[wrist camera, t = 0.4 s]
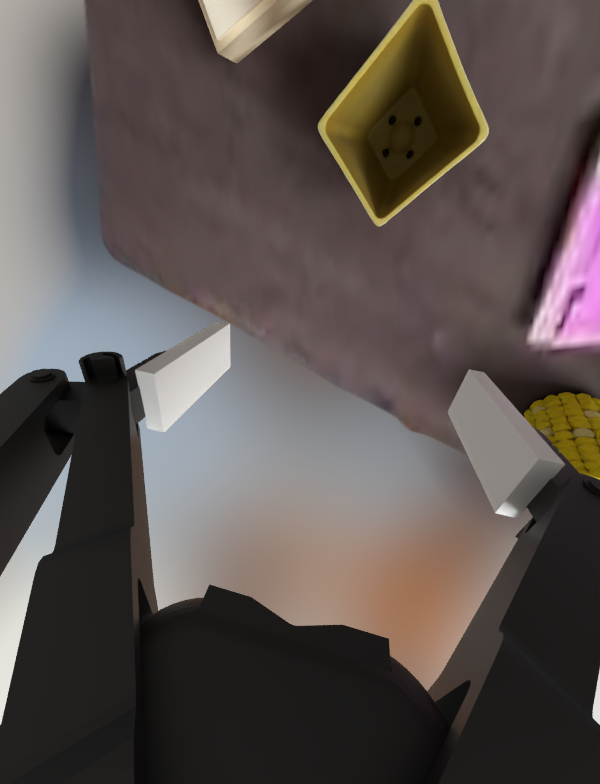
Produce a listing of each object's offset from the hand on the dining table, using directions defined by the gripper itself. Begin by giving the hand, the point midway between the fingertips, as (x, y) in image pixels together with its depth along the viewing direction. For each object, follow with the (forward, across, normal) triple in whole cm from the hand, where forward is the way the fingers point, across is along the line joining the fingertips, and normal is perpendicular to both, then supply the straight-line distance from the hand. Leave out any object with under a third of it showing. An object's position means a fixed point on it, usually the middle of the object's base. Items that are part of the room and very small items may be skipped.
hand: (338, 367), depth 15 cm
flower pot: (+22, +1, +15) cm, 26 cm away
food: (+25, +32, -12) cm, 42 cm away
